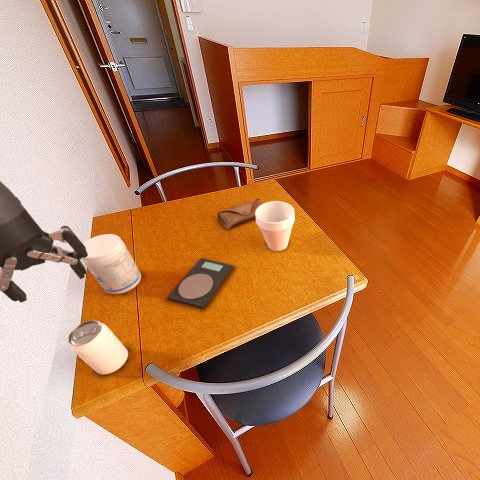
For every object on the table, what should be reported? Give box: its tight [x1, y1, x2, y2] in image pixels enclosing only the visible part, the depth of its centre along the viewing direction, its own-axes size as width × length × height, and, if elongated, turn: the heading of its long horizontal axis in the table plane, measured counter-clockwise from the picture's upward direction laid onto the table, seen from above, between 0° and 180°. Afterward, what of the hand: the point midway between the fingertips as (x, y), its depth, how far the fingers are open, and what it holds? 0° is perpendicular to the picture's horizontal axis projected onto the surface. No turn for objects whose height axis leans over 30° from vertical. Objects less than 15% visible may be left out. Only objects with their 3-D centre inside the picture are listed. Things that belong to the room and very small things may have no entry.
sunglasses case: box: [216, 198, 263, 230], centre depth 105 cm, size 18×7×7 cm, turn 129°
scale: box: [166, 257, 234, 310], centre depth 80 cm, size 16×11×2 cm
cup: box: [255, 200, 296, 252], centre depth 90 cm, size 12×12×14 cm
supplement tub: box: [80, 233, 142, 295], centre depth 75 cm, size 10×10×15 cm
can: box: [67, 319, 129, 375], centre depth 59 cm, size 6×6×12 cm
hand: (54, 286), depth 51 cm, fingers open, 8 cm apart
